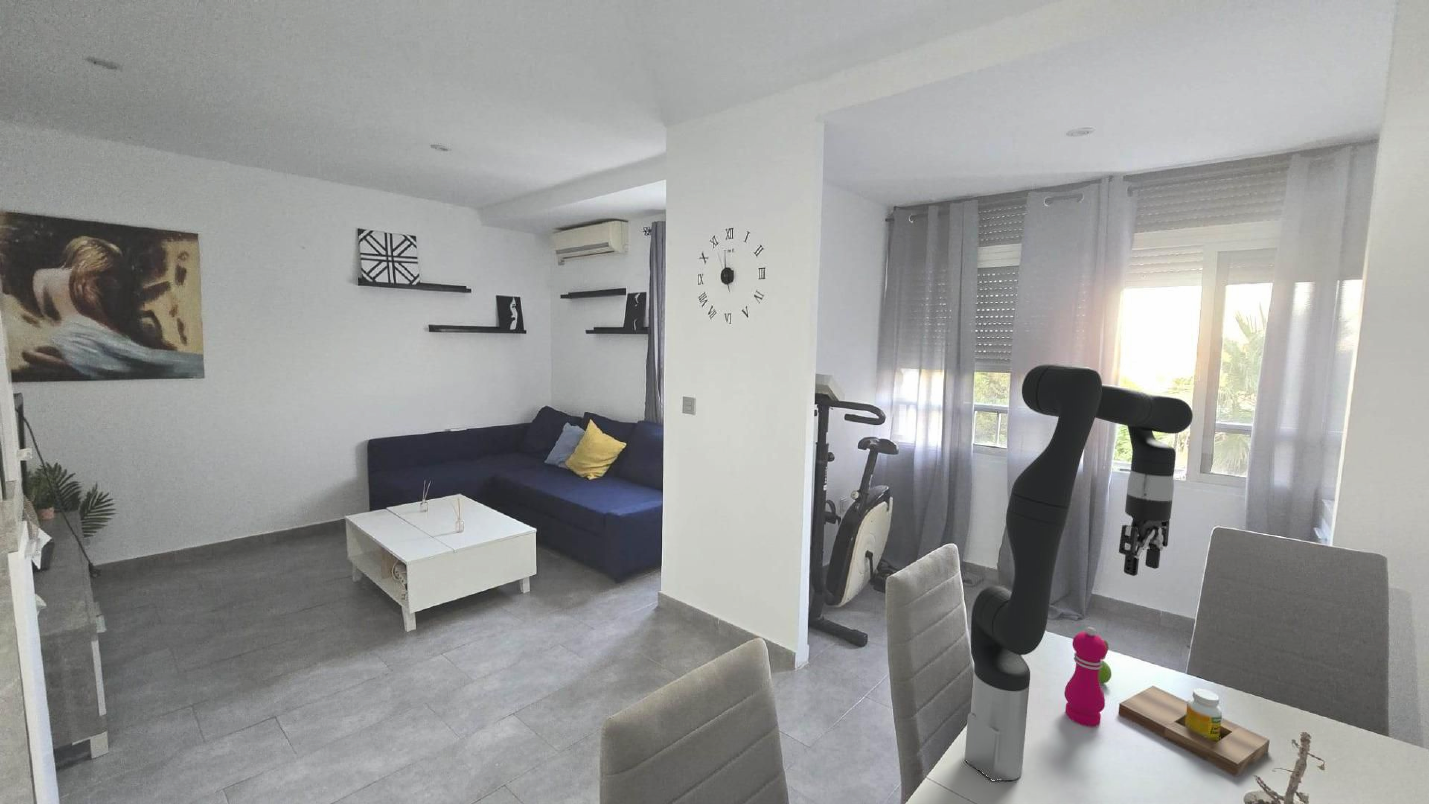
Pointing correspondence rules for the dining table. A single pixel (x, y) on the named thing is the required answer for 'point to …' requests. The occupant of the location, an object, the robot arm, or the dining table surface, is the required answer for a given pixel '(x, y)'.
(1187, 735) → the collar plate
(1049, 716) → the dining table surface
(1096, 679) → the pepper mill
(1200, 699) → the supplement bottle
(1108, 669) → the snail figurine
